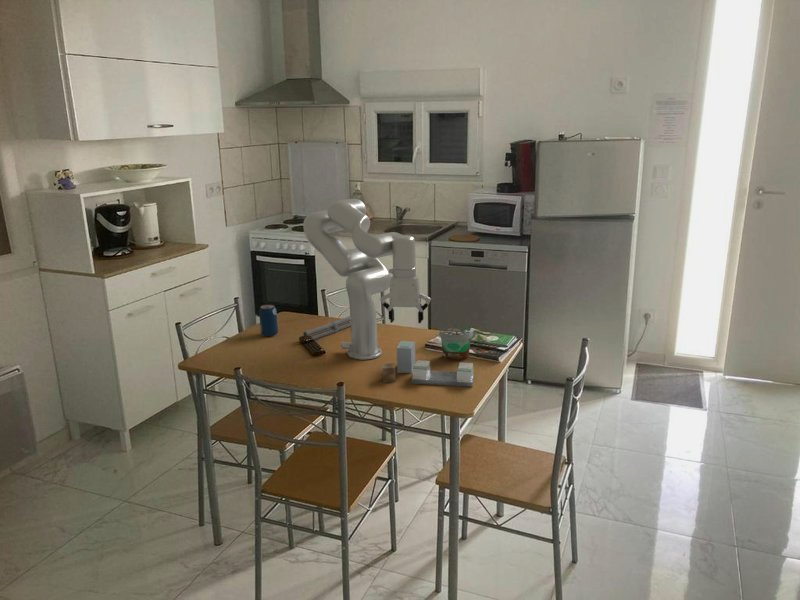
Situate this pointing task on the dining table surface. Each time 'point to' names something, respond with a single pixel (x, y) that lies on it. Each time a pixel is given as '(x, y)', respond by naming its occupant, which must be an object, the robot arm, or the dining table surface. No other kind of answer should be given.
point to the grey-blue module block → (405, 356)
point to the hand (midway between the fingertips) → (406, 321)
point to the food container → (455, 344)
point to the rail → (443, 375)
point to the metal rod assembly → (332, 325)
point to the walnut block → (388, 372)
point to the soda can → (268, 320)
